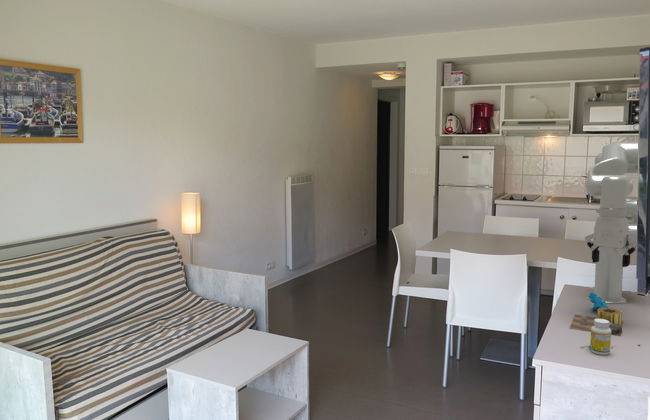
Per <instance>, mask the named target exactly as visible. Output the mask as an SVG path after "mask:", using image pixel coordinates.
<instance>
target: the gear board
mask: <svg viewBox="0 0 650 420" xmlns="http://www.w3.org/2000/svg"><path fill="white" fill-rule="evenodd" d="M594 319H597V316H589V315H588V314H586V313H581V314H574V315H573V318H572V321H571V323H570V326H569V328H568V329H569V330H575V331H582V332H590V333H591V328H592V327H593V326H595V325H594ZM623 325H624V320H622V324H621V325H620V326H619V325H617V324H612V323H610V322H609V328H610V329H611V336H616V337H622V333H623Z"/></svg>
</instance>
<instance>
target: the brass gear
mask: <svg viewBox="0 0 650 420" xmlns="http://www.w3.org/2000/svg"><path fill="white" fill-rule="evenodd" d="M596 310H597V313H596V317H597V319H605V320H608V321H609V322H610V323H612V324H617V325H619V326H620V325H621V324H622V321H623V311H622V310H620V309H619V310H618V309H616V308H611V307H609V308H598V309H596Z"/></svg>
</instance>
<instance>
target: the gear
mask: <svg viewBox="0 0 650 420" xmlns="http://www.w3.org/2000/svg"><path fill="white" fill-rule="evenodd" d="M588 298H589V301H590V302H591V303H593V307H591V308H590V309H589V310H590V311H595V310H597V309H598V308H610V307H609V306H607V304H606V301H605V300H604V301H603V302H602V301H601V300H602V299H601V298H600V297H598V298H597V295H596V294H595V293H594V292H590V293H589V295H588ZM590 298H591V299H590Z"/></svg>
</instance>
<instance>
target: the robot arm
mask: <svg viewBox="0 0 650 420" xmlns="http://www.w3.org/2000/svg"><path fill="white" fill-rule="evenodd" d="M638 142H639V141H634V142H633V141H624V142H622V141H620V142H611V143H608V144H606V145H605V146H604V147H603V149H602V152H601V153H598V154H597V155H596V156H595V158H594V165H592V167H590V168H589V170H588V171H587V174H586V182H585V189H586V193H587V195H589V196H591V197H599V200H600V201H599V208H596V209H595V213H597V214H598V216H597V217H596V220H595V224H594V229H593V233H592V234H589V235H586V236H584V240H585V242H586V244H587V246H588V247H589V249H590V251H591V259H592V263H595V268H594V269H595V271H594V286H592V287H591V288H592V291H594V292H593V294H594V293H595V294H596V295H597V298H598V297H600V298H601V299H602V300H601V301H602V302H603V301H604V300H605V301H606V305H625V304H626V303H627V300H626V298H625V297H623V296H622V295H623V294H622V293H623V292H622V291H623V278H624V277H623V275H624V268H626V267H629V266H630V264H631V255H633V254H634V252H636V251H637V249H638V248H637V199H638V197H639V196H630V195H631V193H632V192H633V189H634V181H633V180H632V178H631V177H630V176H629V175H624V174H639V173H638ZM619 249H620V250H621V251H622V252H623V255H622V253H621V251H619ZM590 299H591V298H589V300H590Z"/></svg>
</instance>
